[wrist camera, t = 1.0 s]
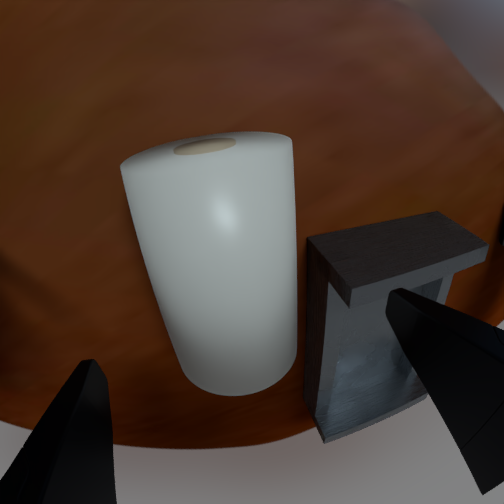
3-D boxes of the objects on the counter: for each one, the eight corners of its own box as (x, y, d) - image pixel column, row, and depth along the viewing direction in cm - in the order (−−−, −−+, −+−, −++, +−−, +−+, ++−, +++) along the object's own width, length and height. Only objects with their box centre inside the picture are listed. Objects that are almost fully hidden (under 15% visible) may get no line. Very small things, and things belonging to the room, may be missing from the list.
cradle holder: (437, 211, 17) (489, 244, 13) (398, 362, 24) (425, 398, 20) (307, 237, 15) (351, 289, 11) (303, 397, 22) (323, 443, 19)
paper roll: (129, 147, 11) (104, 185, 7) (262, 124, 12) (323, 148, 8) (175, 323, 16) (186, 409, 11) (275, 300, 17) (315, 376, 12)
